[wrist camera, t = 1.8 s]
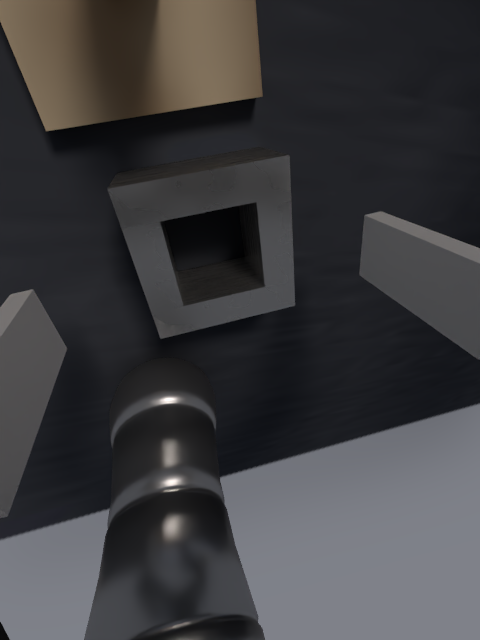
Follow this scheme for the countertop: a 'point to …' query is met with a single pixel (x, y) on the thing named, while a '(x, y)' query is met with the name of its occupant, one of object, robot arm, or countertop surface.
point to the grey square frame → (199, 197)
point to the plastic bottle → (168, 517)
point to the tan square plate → (132, 56)
